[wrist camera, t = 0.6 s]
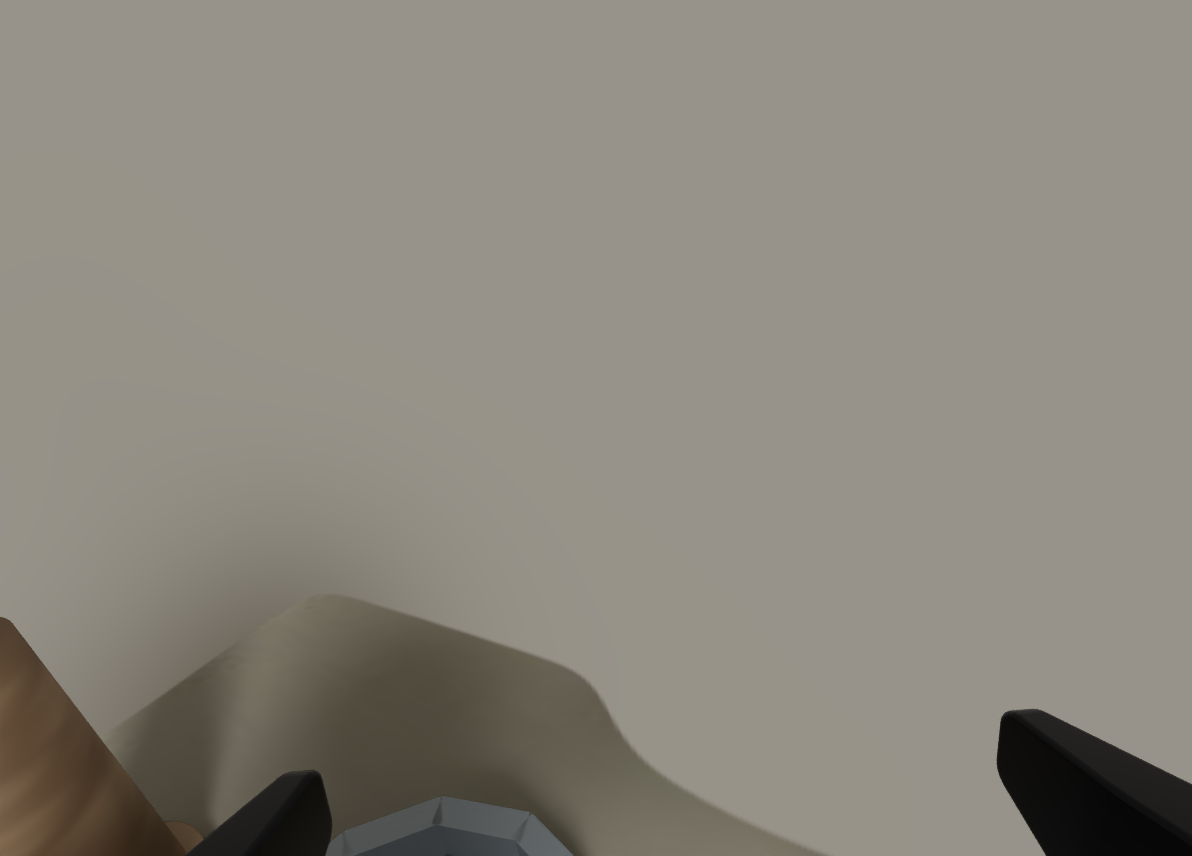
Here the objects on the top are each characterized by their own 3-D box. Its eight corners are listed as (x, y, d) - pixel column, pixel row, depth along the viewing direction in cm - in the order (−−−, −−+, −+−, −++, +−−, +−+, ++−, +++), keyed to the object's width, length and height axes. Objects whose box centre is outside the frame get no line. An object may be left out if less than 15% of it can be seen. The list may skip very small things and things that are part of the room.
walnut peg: (116, 1038, 18) (-167, 803, 12) (-12, 994, 19) (-327, 762, 13) (246, 845, 23) (89, 610, 17) (137, 820, 24) (-46, 593, 18)
